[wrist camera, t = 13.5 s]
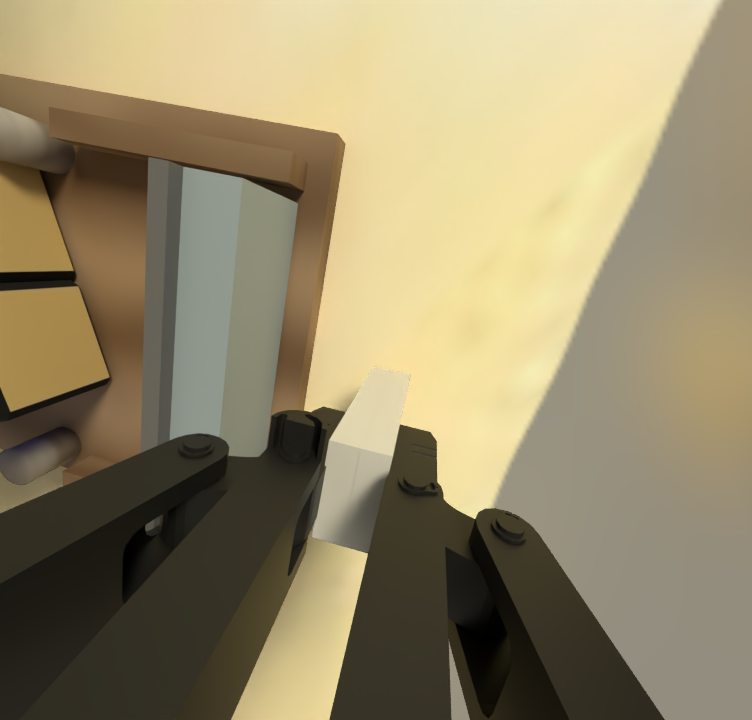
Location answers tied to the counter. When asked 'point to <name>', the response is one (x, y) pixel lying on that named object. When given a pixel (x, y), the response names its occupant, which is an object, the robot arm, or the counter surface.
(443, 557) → the robot arm
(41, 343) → the puzzle cube
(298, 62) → the counter surface
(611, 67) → the counter surface
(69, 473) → the base
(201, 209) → the bar
